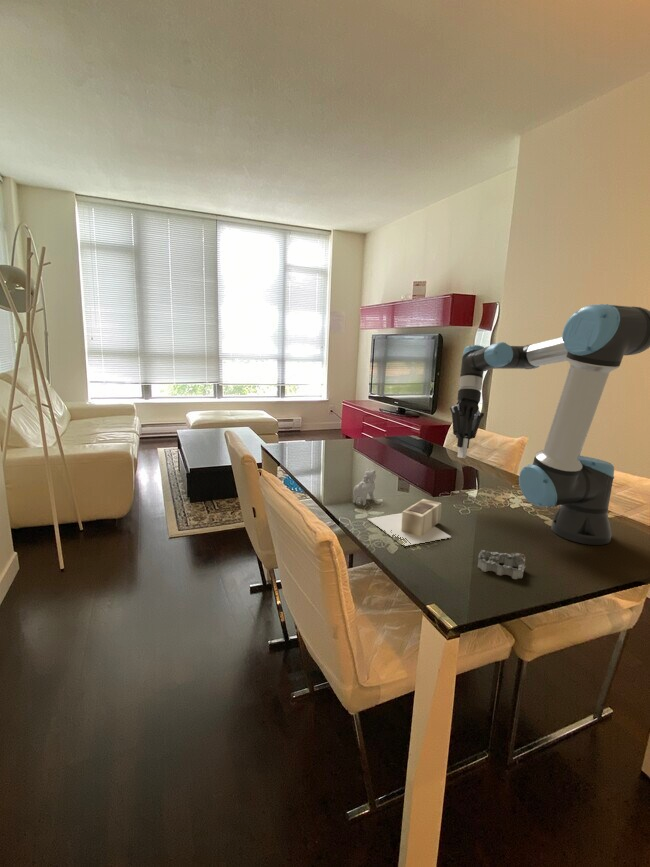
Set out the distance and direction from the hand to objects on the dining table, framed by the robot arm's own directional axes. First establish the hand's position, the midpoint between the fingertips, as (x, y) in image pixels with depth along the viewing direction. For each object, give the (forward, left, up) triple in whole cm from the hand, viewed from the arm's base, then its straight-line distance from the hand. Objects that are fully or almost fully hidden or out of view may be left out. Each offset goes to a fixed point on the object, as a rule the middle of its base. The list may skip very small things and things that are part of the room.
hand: (461, 457), depth 144 cm
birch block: (-9, +18, -13) cm, 24 cm away
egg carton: (-39, +21, -17) cm, 48 cm away
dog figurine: (+15, +29, -17) cm, 37 cm away
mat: (-11, +29, -17) cm, 35 cm away
